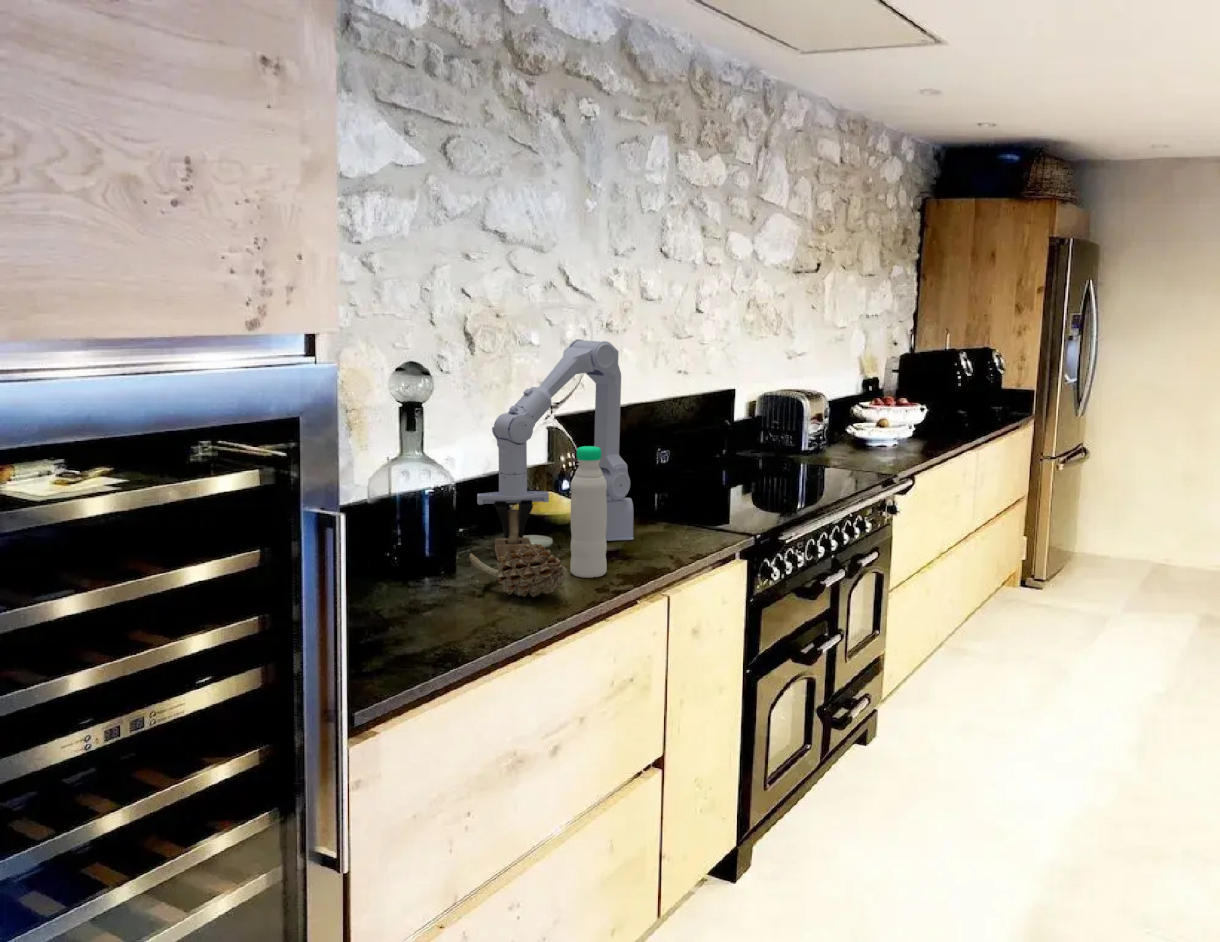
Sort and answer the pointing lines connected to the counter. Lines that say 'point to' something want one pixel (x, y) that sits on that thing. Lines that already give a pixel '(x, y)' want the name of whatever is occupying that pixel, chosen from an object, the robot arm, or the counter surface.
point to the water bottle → (588, 515)
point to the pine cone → (526, 570)
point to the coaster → (540, 540)
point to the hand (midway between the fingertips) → (513, 537)
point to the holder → (508, 546)
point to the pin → (513, 526)
